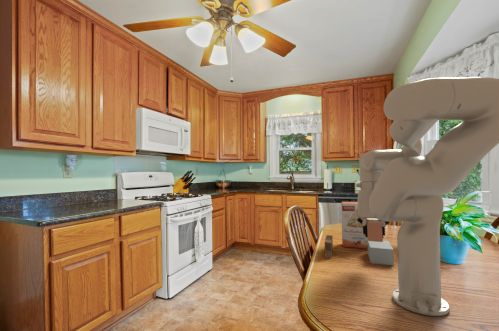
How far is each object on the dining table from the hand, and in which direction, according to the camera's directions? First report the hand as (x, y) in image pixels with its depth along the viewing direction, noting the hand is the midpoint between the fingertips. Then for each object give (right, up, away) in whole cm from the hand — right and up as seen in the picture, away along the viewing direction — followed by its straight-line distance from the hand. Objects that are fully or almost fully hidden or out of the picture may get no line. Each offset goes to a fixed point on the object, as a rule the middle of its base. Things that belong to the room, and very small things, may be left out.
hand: (374, 236), depth 90 cm
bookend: (-11, -13, +18) cm, 24 cm away
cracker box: (+6, -13, +27) cm, 31 cm away
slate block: (+8, -12, +10) cm, 18 cm away
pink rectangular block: (0, -1, 0) cm, 1 cm away
